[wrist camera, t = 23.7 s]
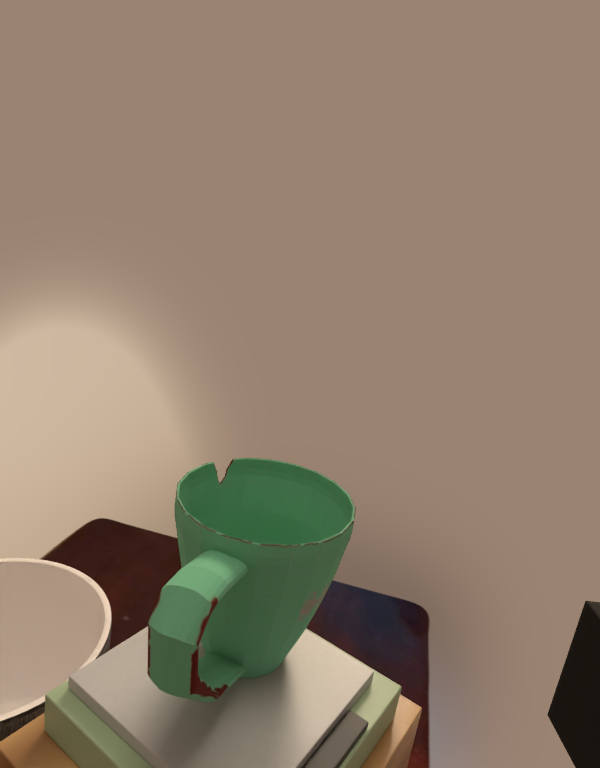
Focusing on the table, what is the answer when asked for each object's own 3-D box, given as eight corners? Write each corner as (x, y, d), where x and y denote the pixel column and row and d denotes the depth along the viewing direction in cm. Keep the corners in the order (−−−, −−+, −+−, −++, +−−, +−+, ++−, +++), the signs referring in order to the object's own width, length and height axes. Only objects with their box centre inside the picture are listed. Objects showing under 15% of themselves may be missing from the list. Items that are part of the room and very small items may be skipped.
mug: (209, 576, 39) (225, 444, 36) (344, 623, 36) (372, 484, 33) (59, 749, 25) (67, 557, 22) (258, 844, 22) (294, 640, 20)
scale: (394, 718, 33) (404, 675, 32) (244, 940, 22) (254, 882, 21) (222, 607, 41) (228, 569, 40) (43, 730, 29) (44, 681, 28)
